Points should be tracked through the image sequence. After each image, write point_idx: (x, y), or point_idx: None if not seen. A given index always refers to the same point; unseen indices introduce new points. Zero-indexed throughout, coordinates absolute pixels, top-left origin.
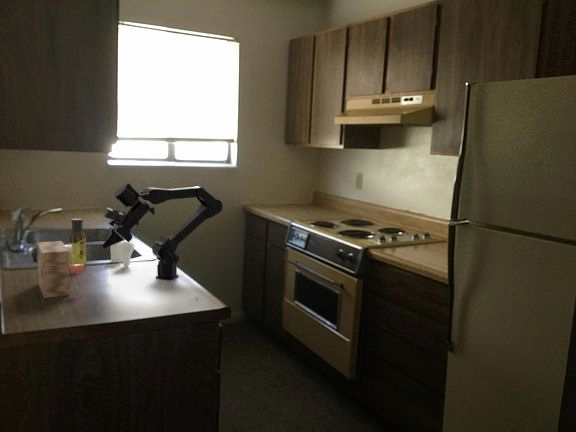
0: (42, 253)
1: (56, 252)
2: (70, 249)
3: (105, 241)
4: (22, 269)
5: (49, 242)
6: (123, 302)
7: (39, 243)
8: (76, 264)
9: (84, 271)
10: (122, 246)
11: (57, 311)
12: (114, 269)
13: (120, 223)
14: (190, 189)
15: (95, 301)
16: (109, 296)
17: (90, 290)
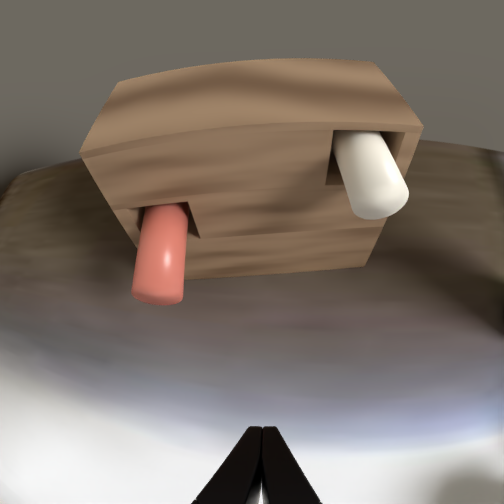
0: (118, 84)
1: (100, 116)
2: (349, 190)
3: (240, 469)
4: (494, 177)
5: (372, 85)
6: (18, 415)
7: (347, 63)
8: (151, 247)
9: (143, 301)
10: None
11: (44, 242)
12: (497, 458)
13: None
14: None
15: (57, 345)
16: (83, 403)
17: (188, 359)
